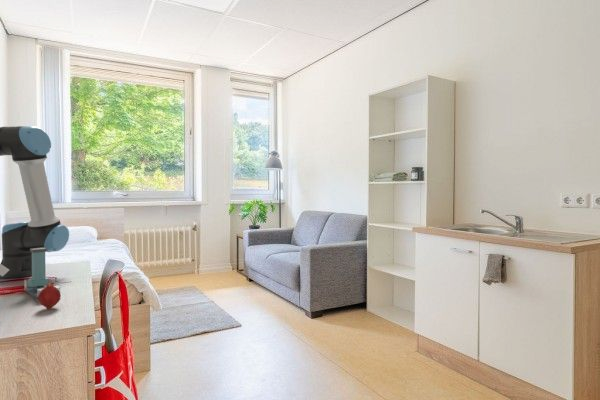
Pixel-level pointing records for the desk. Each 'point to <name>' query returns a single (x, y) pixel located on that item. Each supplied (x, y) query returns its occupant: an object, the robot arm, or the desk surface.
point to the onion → (49, 296)
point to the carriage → (38, 268)
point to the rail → (35, 289)
